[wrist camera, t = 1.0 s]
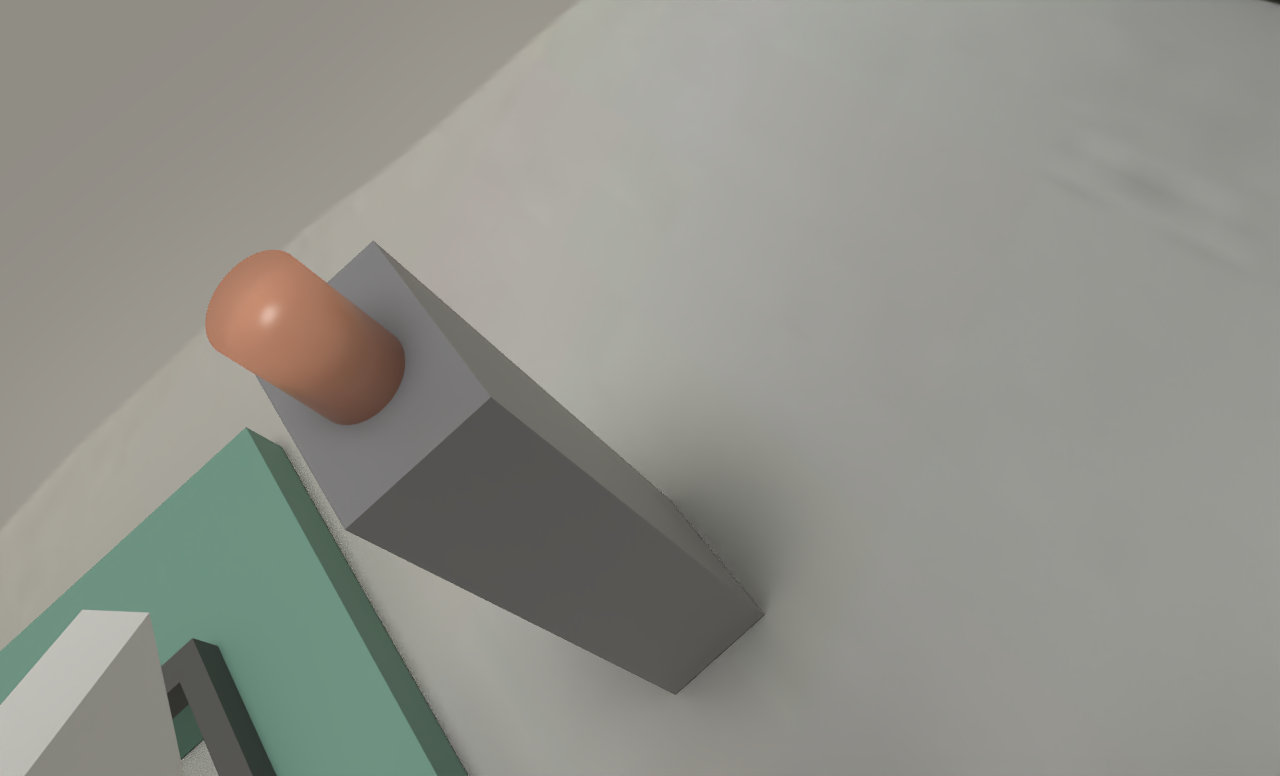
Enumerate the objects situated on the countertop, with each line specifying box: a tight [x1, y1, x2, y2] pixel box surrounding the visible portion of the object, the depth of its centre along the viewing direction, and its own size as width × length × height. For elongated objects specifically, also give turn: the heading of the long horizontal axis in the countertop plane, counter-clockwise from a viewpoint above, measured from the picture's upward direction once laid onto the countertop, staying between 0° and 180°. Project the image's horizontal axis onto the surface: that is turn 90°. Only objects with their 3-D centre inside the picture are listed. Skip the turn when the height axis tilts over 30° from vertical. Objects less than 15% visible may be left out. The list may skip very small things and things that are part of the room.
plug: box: [206, 241, 764, 694], centre depth 27 cm, size 5×4×19 cm, turn 36°
